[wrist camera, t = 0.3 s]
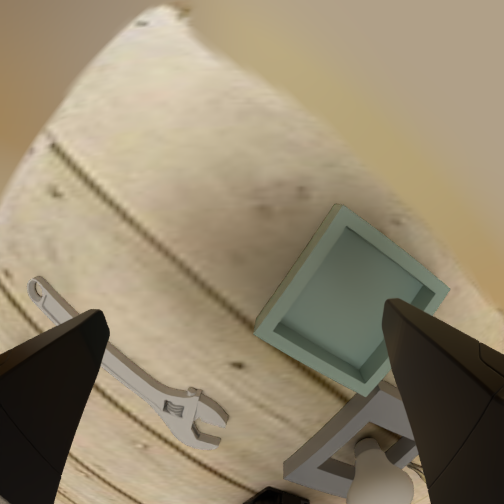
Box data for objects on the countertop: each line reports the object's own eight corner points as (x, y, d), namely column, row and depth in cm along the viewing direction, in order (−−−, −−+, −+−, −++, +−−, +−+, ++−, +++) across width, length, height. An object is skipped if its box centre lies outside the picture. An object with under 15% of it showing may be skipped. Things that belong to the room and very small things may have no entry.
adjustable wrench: (32, 288, 27) (22, 292, 26) (55, 244, 26) (44, 246, 24) (204, 446, 29) (201, 456, 27) (244, 418, 28) (242, 429, 26)
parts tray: (358, 378, 26) (365, 397, 23) (255, 318, 25) (253, 334, 22) (434, 279, 23) (450, 289, 21) (334, 203, 23) (342, 204, 20)
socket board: (355, 487, 28) (358, 501, 26) (283, 462, 28) (283, 478, 26) (440, 411, 26) (449, 424, 23) (373, 374, 25) (380, 389, 23)
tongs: (409, 451, 28) (414, 462, 26) (456, 467, 29) (461, 476, 27) (384, 471, 28) (388, 483, 27) (435, 485, 30) (439, 494, 28)
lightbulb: (367, 412, 26) (395, 495, 15) (402, 432, 26) (434, 506, 16) (324, 448, 27) (335, 531, 16) (361, 465, 28) (379, 539, 17)
